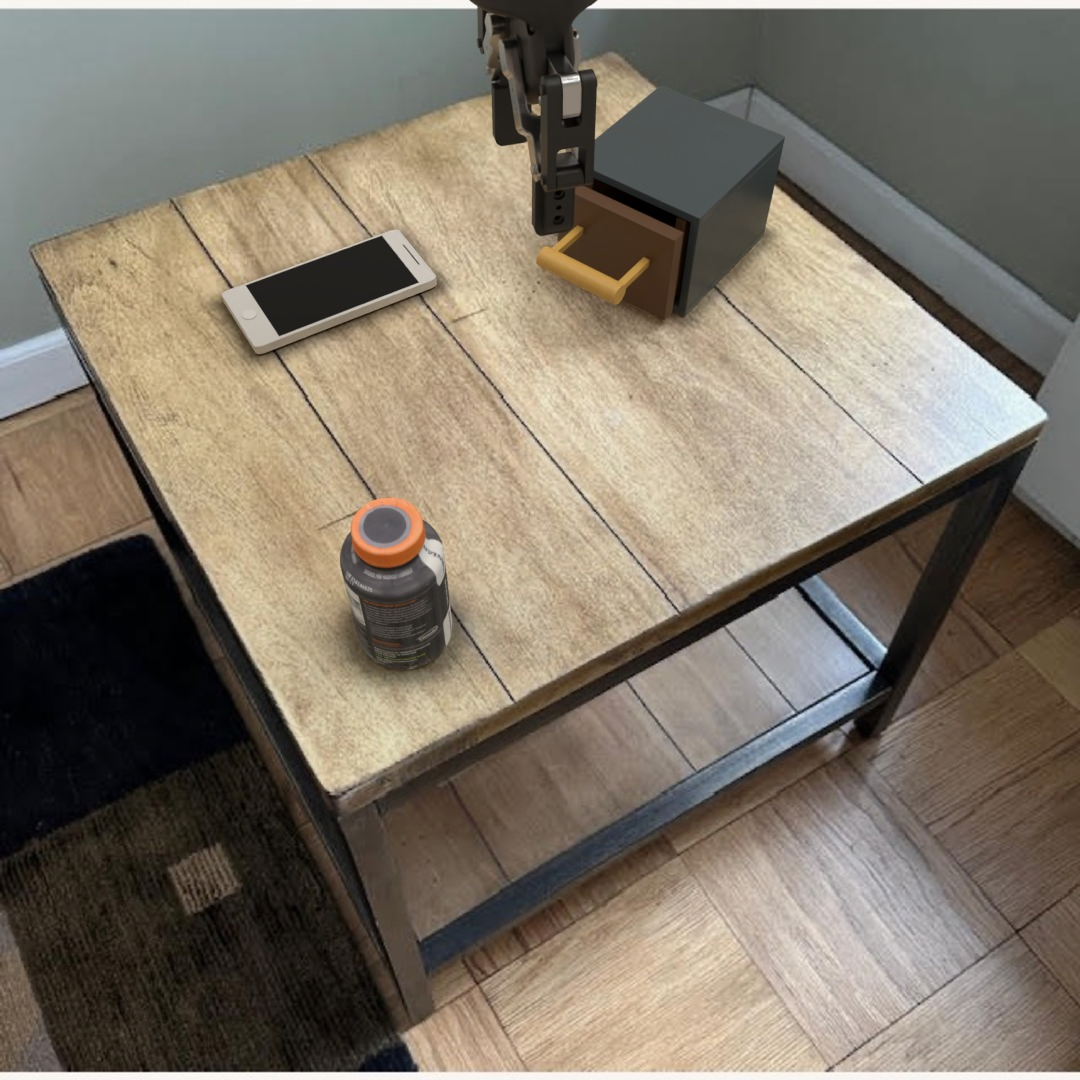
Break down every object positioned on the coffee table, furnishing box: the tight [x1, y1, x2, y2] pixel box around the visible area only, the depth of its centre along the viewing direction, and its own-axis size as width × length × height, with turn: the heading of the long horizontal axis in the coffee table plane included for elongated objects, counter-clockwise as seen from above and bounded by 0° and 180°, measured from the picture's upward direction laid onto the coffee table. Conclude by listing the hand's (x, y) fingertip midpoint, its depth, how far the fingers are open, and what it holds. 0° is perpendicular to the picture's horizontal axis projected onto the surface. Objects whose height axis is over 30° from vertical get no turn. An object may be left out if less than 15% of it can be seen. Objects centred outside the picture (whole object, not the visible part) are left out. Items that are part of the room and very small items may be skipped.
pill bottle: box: [339, 496, 453, 671], centre depth 64 cm, size 6×6×11 cm
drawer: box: [535, 178, 691, 322], centre depth 84 cm, size 16×10×8 cm, turn 143°
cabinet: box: [594, 84, 786, 318], centre depth 87 cm, size 12×11×9 cm
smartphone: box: [221, 229, 438, 355], centre depth 86 cm, size 7×16×1 cm, turn 121°
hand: (531, 183), depth 63 cm, fingers open, 8 cm apart
